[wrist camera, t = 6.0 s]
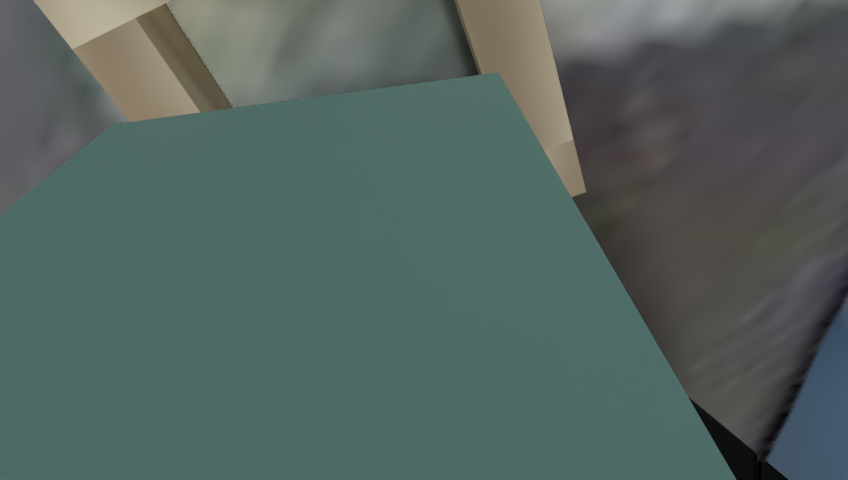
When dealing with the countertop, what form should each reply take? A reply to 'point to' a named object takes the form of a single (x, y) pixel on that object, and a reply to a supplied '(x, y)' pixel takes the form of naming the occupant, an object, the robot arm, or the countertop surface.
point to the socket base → (198, 92)
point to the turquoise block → (328, 305)
